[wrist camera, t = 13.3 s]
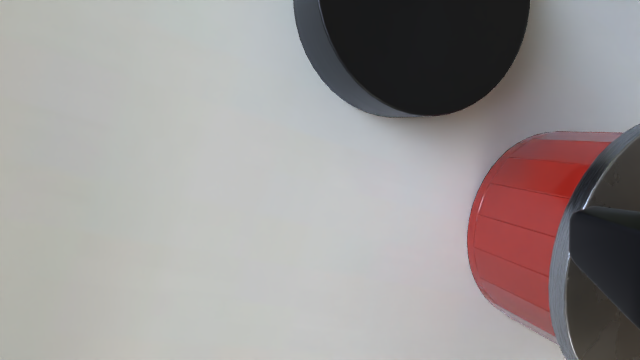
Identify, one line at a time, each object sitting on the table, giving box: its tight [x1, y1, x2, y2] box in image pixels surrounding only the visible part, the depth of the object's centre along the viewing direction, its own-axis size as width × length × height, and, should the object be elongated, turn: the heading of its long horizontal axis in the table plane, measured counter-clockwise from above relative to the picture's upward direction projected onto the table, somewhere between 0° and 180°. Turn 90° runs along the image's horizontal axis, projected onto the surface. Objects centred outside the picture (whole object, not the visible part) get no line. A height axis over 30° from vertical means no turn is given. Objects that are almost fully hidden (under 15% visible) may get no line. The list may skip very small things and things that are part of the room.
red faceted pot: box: [467, 131, 623, 345], centre depth 22 cm, size 11×11×6 cm
